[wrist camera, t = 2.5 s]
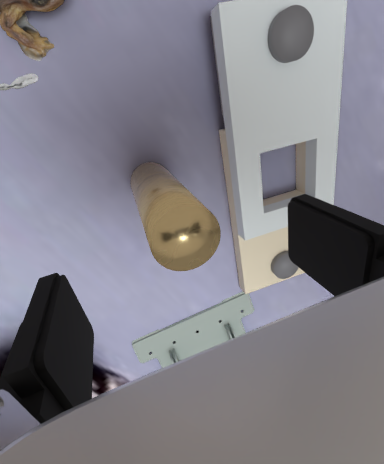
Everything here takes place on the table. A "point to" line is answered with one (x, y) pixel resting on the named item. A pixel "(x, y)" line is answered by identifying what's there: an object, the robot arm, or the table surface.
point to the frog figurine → (25, 32)
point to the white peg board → (276, 117)
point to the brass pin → (173, 219)
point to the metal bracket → (189, 338)
